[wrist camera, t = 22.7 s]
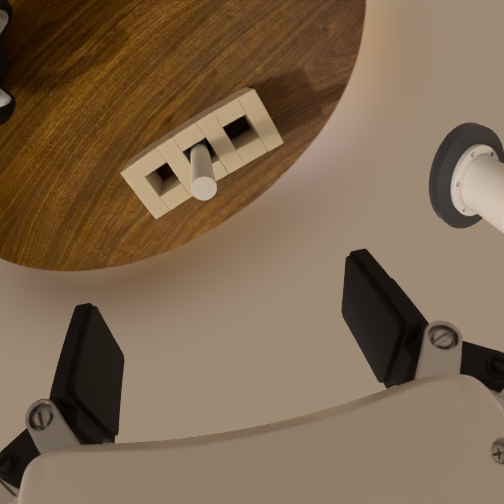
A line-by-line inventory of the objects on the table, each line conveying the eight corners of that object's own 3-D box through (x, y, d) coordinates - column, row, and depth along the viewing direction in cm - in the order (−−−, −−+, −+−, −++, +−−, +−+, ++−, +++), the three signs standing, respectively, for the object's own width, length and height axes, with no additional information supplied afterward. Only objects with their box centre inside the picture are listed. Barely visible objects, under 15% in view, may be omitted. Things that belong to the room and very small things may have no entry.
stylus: (206, 136, 33) (216, 174, 21) (207, 152, 34) (218, 199, 22) (189, 137, 32) (189, 177, 21) (190, 153, 33) (192, 201, 22)
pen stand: (245, 86, 31) (254, 88, 26) (271, 133, 34) (284, 143, 30) (128, 159, 32) (120, 173, 28) (159, 201, 36) (156, 219, 32)
